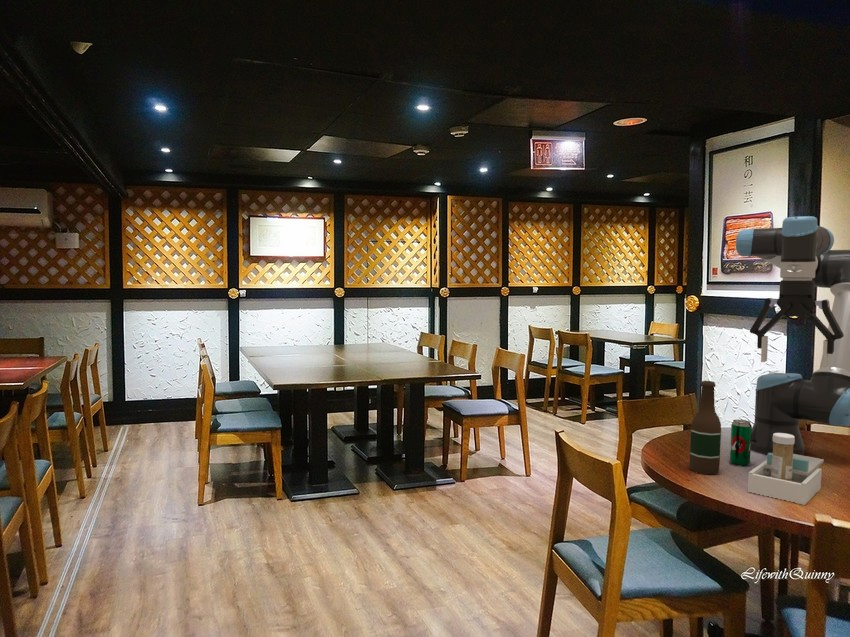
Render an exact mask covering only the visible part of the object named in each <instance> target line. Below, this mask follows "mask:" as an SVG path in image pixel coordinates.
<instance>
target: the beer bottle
mask: <svg viewBox="0 0 850 637" xmlns="http://www.w3.org/2000/svg"><path fill="white" fill-rule="evenodd" d="M700 386H701V389H700V399H699V401H700V402H699V407H698V411H697V412H696V413H695V415H694V416H693V419H692V422H691V427H690V442H689V443H690V444H689V471H691V470H692V471H691V472H693V471H694V472H693V473H696V472H697V473H696V474H699V473H702V474H701V475H706V474H709V475H708V476H711V475H710V474H714V475H719V472H720V465H721V464H720V461H721V444H722V443H721V441H722V440H721V439H722V422H721V420H720V418H719V416H718V414H717V412H716V407H715V387H716V382H715V381H712V380H701V383H700Z"/></svg>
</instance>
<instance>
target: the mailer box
mask: <svg viewBox="0 0 850 637" xmlns="http://www.w3.org/2000/svg"><path fill="white" fill-rule="evenodd" d="M765 463H767V459H765V460H764V461H763V462H761V463H760V464H758V465H757V466H756V467H754V468H753V469H751V470H749V471H748V478H747V479H748V480H747V493H749V492H752V493H751V494H753V493H756V494H755V495H758V494H760V495H759V496H762V495H764V496H763V497H767V496H769V497H768V498H771V497H773V498H772V499H775V498H778V499H777V500H780V499H782V501H784V500H786V501H785V502H789V501H791V502H790V503H793V502H795V504H799V505H803V506H806V505H807V503H808V502H810V500H811V499H812V498H813V497H815V495H816V494H817V493H818V492H819V491H820V490H821V489H822V473H823V469H822V468H820V467H818V468H817V469H816V470H815V471H814V472H812V473H811V474H810V475H809V476H805V475H800V474H795V473H792V482H791V481H787V480H782V479H777V478H772V475H771V472H772V469H770V468H765V467H764V464H765Z"/></svg>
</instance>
